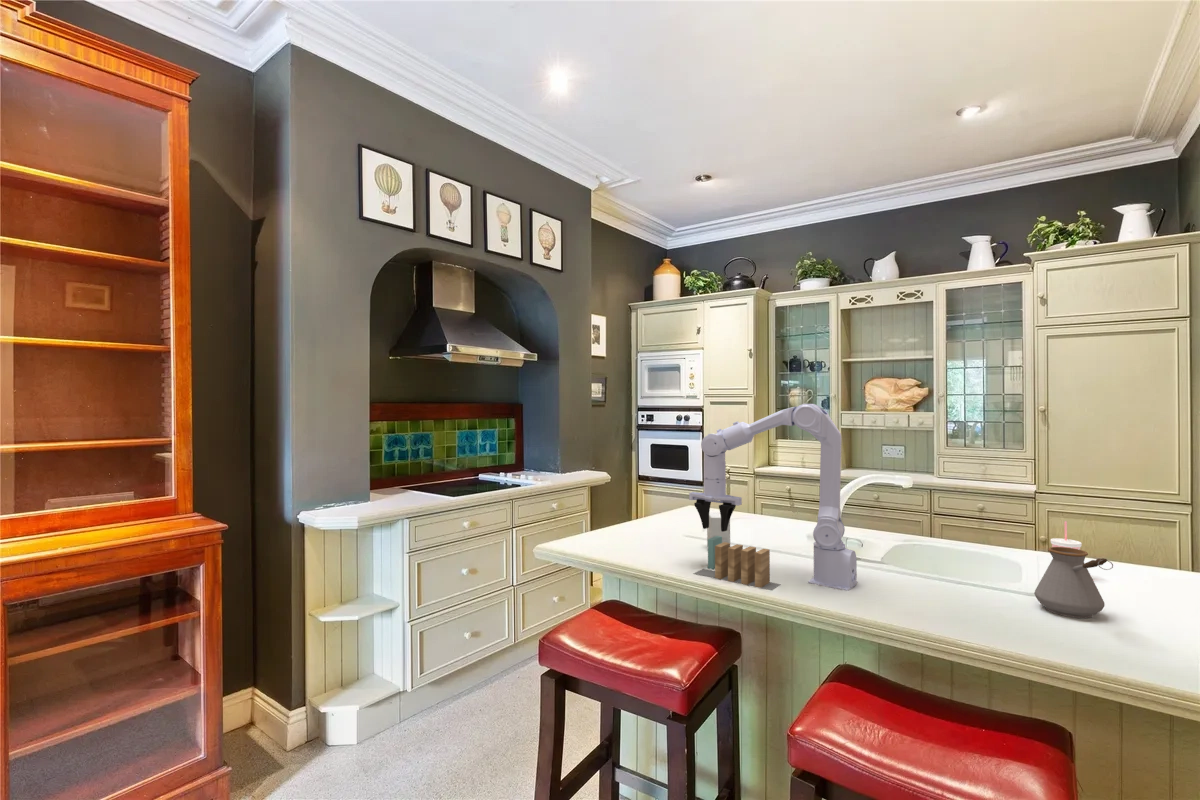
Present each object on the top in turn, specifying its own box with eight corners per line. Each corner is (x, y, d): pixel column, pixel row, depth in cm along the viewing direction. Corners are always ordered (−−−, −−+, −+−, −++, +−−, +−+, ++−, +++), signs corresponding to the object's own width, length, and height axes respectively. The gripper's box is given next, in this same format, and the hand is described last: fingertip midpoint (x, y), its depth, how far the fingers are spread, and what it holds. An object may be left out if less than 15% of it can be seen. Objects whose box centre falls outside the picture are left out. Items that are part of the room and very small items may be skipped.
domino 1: (730, 574, 146) (729, 543, 146) (720, 579, 142) (720, 546, 142) (724, 573, 147) (724, 542, 147) (715, 577, 143) (715, 545, 143)
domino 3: (756, 579, 142) (756, 547, 142) (747, 584, 138) (747, 551, 138) (750, 578, 143) (749, 546, 143) (741, 583, 139) (741, 550, 139)
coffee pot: (1025, 599, 128) (1025, 532, 128) (1088, 605, 124) (1088, 536, 124) (1069, 636, 108) (1069, 557, 108) (1146, 645, 104) (1145, 562, 104)
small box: (730, 553, 168) (730, 517, 168) (711, 553, 168) (711, 517, 168) (725, 546, 176) (725, 512, 176) (706, 546, 176) (706, 512, 176)
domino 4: (769, 582, 140) (769, 549, 140) (761, 587, 136) (761, 553, 136) (763, 581, 141) (763, 548, 141) (754, 586, 137) (754, 552, 137)
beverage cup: (1072, 581, 141) (1072, 524, 141) (1045, 574, 146) (1044, 519, 146) (1087, 578, 143) (1087, 522, 143) (1060, 572, 149) (1059, 518, 149)
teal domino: (722, 566, 155) (722, 536, 155) (713, 570, 151) (713, 540, 151) (716, 565, 156) (716, 535, 156) (707, 569, 152) (707, 539, 152)
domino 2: (742, 577, 144) (742, 545, 144) (734, 581, 140) (733, 549, 140) (736, 575, 145) (736, 544, 145) (727, 580, 141) (727, 548, 141)
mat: (781, 585, 138) (781, 584, 138) (771, 591, 134) (771, 590, 134) (703, 569, 151) (703, 568, 151) (692, 574, 147) (692, 573, 147)
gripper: (683, 477, 155) (683, 528, 155) (733, 482, 146) (733, 536, 146) (696, 475, 160) (696, 524, 160) (745, 479, 151) (745, 531, 151)
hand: (714, 529), depth 153 cm, fingers open, 5 cm apart
